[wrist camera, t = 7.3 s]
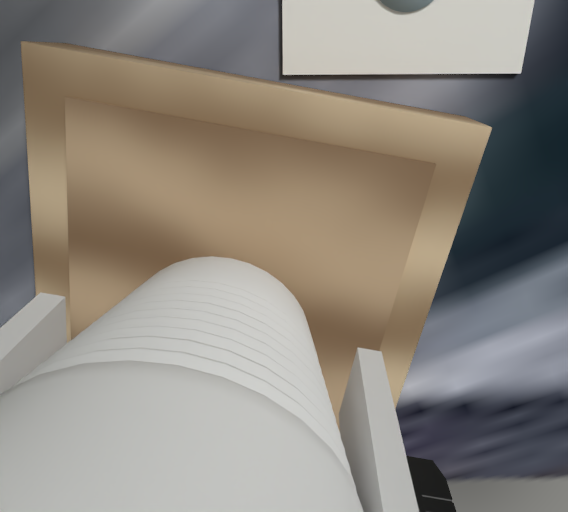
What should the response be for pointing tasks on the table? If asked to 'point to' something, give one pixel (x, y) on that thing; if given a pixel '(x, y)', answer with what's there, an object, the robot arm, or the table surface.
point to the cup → (180, 406)
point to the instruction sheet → (404, 36)
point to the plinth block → (243, 193)
